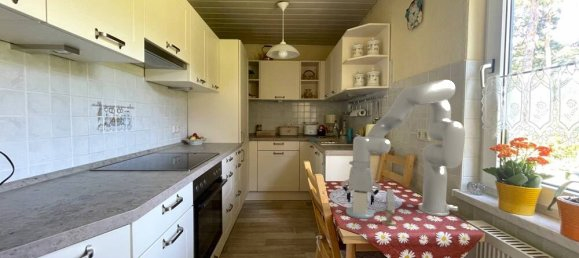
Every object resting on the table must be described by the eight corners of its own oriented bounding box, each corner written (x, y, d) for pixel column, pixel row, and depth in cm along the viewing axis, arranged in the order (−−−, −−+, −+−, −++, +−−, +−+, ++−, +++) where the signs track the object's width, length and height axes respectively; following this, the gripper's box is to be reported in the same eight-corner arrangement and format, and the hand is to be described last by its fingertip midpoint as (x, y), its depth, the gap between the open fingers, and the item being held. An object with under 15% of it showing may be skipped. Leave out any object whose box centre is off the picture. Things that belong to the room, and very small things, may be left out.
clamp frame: (393, 211, 121) (394, 189, 120) (395, 226, 105) (396, 200, 104) (382, 210, 123) (383, 188, 122) (382, 224, 107) (383, 198, 106)
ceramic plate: (374, 211, 121) (374, 208, 121) (373, 220, 110) (373, 218, 110) (347, 207, 125) (347, 205, 125) (344, 216, 114) (344, 214, 114)
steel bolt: (393, 197, 106) (393, 190, 106) (394, 210, 91) (395, 202, 91) (386, 196, 107) (387, 189, 107) (387, 210, 92) (387, 201, 92)
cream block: (367, 210, 119) (367, 190, 119) (366, 214, 114) (366, 193, 114) (354, 208, 121) (355, 189, 121) (353, 212, 116) (353, 192, 116)
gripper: (340, 164, 116) (339, 203, 117) (382, 167, 110) (380, 208, 111) (342, 161, 123) (341, 198, 124) (382, 164, 117) (380, 202, 118)
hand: (360, 202), depth 117 cm, fingers open, 9 cm apart
